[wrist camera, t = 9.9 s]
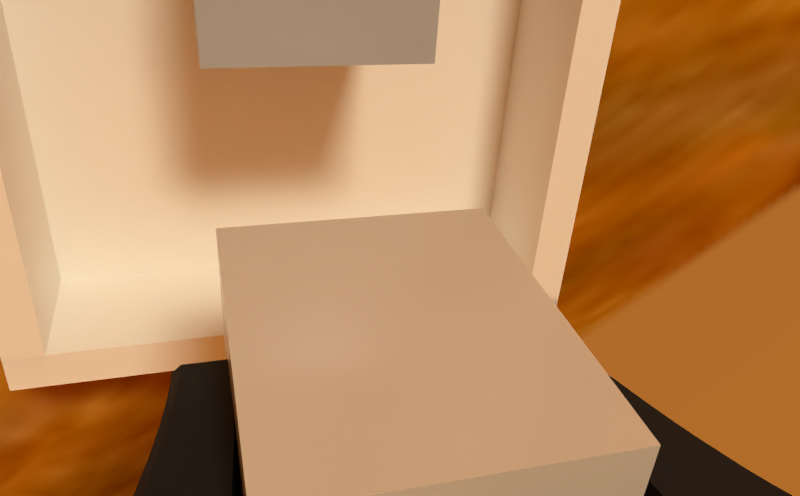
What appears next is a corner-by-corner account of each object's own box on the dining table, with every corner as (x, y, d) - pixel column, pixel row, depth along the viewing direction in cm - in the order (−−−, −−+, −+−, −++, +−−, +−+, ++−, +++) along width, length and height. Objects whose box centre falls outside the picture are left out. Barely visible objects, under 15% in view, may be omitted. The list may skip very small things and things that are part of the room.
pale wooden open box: (578, -270, 15) (680, -282, 12) (499, 249, 21) (552, 324, 18) (-117, -340, 12) (-209, -379, 9) (34, 292, 18) (9, 390, 15)
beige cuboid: (482, 208, 10) (660, 445, 7) (456, 402, 12) (583, 672, 8) (215, 228, 9) (249, 516, 6) (231, 435, 11) (263, 753, 8)
